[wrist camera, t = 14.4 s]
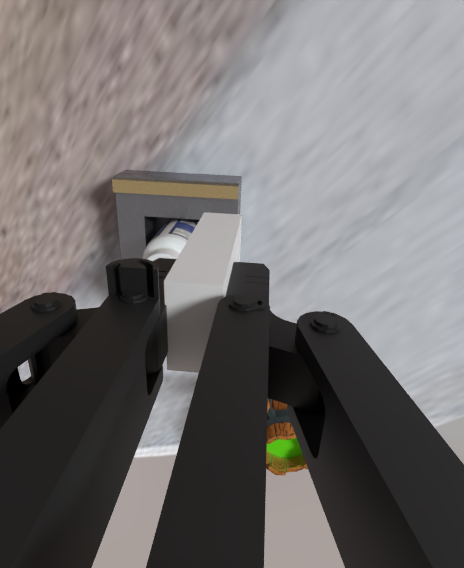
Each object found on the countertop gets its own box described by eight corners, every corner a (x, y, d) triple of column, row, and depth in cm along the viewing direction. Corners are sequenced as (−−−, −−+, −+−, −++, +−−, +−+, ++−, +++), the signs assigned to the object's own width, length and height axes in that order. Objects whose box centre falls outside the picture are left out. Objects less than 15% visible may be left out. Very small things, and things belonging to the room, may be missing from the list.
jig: (125, 170, 42) (111, 177, 38) (241, 176, 41) (238, 184, 37) (134, 291, 48) (123, 307, 44) (235, 299, 47) (232, 316, 43)
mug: (335, 405, 52) (351, 483, 42) (262, 426, 55) (260, 504, 45) (298, 325, 48) (305, 389, 37) (221, 351, 51) (207, 418, 40)
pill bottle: (170, 267, 46) (146, 308, 37) (153, 222, 44) (123, 254, 35) (215, 255, 45) (201, 295, 36) (200, 209, 43) (181, 239, 34)
